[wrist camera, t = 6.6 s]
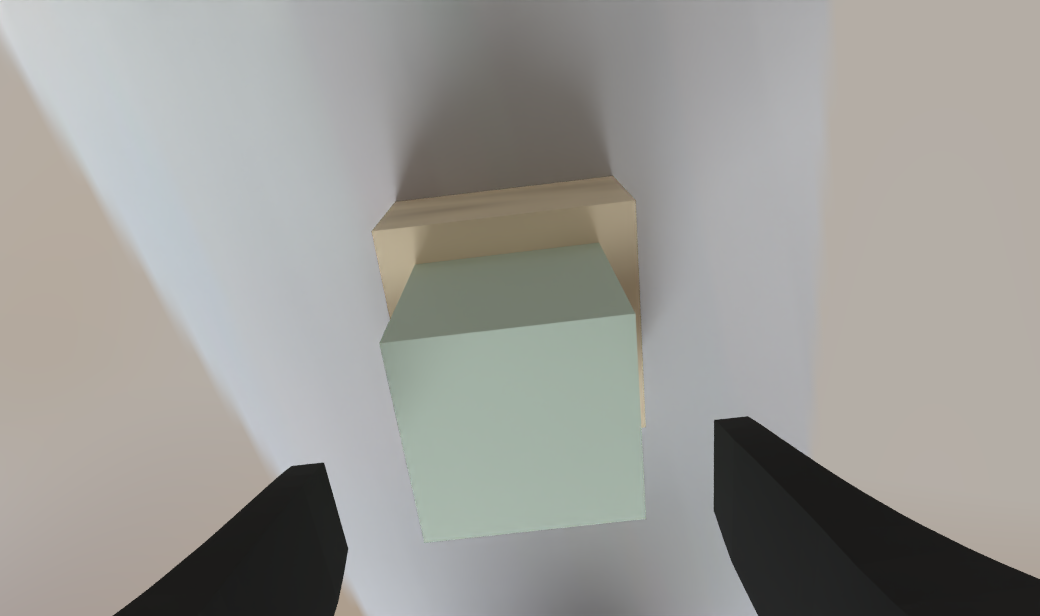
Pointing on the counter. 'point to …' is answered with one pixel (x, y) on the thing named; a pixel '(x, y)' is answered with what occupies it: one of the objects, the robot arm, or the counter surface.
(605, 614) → the counter surface
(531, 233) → the beech base block
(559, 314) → the sage cube
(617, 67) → the counter surface
